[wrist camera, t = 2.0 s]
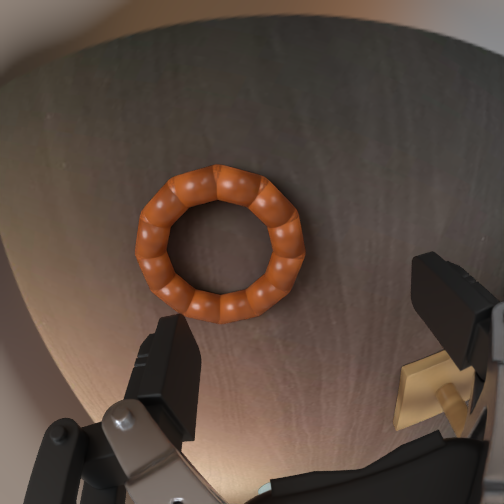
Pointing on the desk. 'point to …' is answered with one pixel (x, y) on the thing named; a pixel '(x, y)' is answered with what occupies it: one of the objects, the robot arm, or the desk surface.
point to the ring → (233, 191)
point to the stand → (433, 392)
